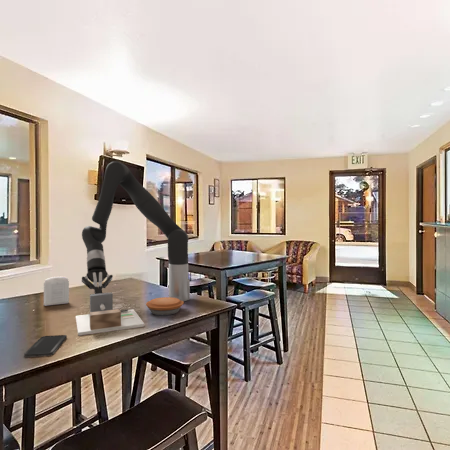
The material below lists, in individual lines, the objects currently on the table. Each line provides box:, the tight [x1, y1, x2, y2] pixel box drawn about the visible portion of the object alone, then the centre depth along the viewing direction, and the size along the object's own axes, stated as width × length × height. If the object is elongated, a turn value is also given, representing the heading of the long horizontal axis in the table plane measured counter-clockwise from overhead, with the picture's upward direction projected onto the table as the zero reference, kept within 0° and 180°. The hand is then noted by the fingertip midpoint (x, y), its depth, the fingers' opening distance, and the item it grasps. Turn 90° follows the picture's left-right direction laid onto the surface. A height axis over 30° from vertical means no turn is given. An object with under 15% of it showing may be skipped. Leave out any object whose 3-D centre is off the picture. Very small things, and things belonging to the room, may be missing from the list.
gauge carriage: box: [89, 292, 129, 313], centre depth 132 cm, size 14×7×8 cm, turn 115°
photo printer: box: [43, 276, 70, 307], centre depth 154 cm, size 10×4×12 cm, turn 123°
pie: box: [145, 296, 185, 316], centre depth 143 cm, size 15×16×5 cm
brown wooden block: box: [89, 308, 121, 330], centre depth 120 cm, size 10×4×5 cm, turn 115°
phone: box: [23, 334, 68, 358], centre depth 104 cm, size 8×1×15 cm
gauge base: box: [75, 308, 145, 336], centre depth 128 cm, size 22×21×1 cm
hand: (98, 296), depth 140 cm, fingers closed
